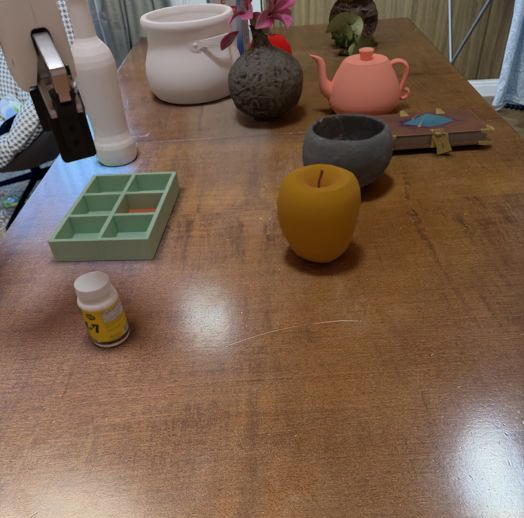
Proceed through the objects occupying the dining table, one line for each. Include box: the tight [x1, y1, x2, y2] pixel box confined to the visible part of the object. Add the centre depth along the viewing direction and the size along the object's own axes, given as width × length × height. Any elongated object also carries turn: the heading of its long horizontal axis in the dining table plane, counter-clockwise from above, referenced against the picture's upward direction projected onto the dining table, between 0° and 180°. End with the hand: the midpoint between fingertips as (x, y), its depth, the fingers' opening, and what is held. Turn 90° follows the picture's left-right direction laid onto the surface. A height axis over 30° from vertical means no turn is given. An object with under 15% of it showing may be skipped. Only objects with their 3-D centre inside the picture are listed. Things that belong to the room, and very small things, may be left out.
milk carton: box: [205, 0, 251, 56], centre depth 146 cm, size 10×6×20 cm, turn 73°
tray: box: [47, 171, 181, 262], centre depth 82 cm, size 15×22×4 cm
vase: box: [220, 0, 304, 124], centre depth 104 cm, size 17×18×30 cm
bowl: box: [301, 114, 394, 189], centre depth 85 cm, size 15×15×10 cm
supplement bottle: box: [73, 270, 131, 348], centre depth 60 cm, size 5×5×8 cm
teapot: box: [308, 47, 411, 116], centre depth 109 cm, size 22×16×12 cm
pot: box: [139, 2, 240, 105], centre depth 125 cm, size 26×24×18 cm
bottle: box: [64, 0, 138, 167], centre depth 93 cm, size 8×8×30 cm
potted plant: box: [325, 0, 379, 57], centre depth 144 cm, size 16×15×35 cm
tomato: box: [249, 31, 293, 56], centre depth 135 cm, size 11×13×10 cm
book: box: [373, 107, 496, 156], centre depth 98 cm, size 16×25×5 cm, turn 91°
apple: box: [276, 164, 362, 264], centre depth 68 cm, size 11×11×13 cm
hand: (68, 142), depth 50 cm, fingers open, 9 cm apart
